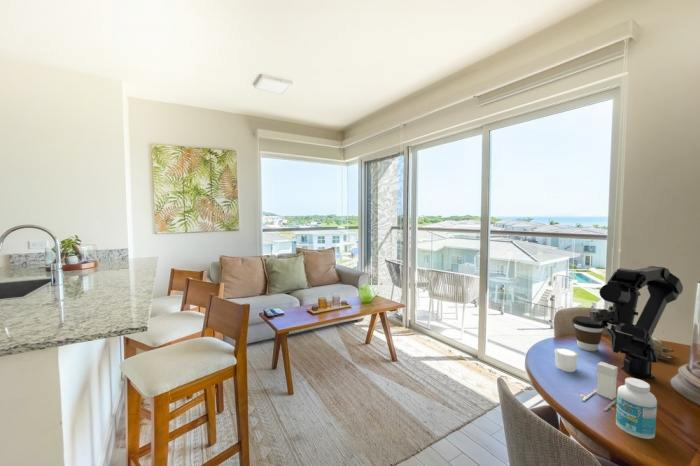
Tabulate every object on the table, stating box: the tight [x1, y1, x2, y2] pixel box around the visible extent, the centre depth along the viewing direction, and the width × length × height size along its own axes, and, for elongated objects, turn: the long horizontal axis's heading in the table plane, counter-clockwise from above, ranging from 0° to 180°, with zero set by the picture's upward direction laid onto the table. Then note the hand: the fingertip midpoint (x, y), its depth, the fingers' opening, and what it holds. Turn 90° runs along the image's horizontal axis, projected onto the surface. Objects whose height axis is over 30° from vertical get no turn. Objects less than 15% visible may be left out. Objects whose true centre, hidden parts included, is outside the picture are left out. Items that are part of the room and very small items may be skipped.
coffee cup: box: [571, 315, 606, 352], centre depth 126 cm, size 11×11×12 cm
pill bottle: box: [615, 377, 658, 440], centre depth 78 cm, size 8×7×14 cm
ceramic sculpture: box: [651, 336, 675, 360], centre depth 121 cm, size 11×9×15 cm
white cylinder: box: [554, 347, 579, 373], centre depth 109 cm, size 7×7×7 cm
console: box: [579, 388, 617, 412], centre depth 91 cm, size 14×9×1 cm, turn 121°
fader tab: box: [596, 361, 619, 401], centre depth 92 cm, size 3×4×10 cm
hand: (615, 352), depth 99 cm, fingers closed
